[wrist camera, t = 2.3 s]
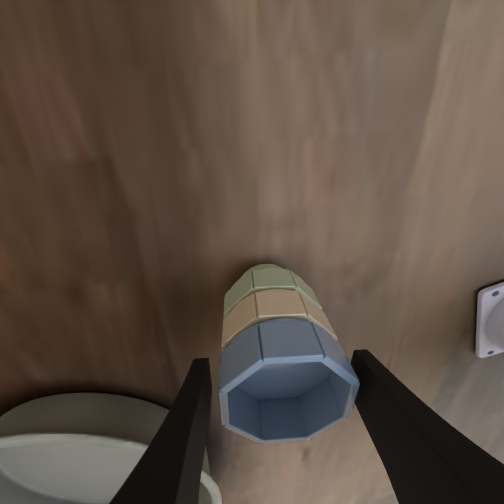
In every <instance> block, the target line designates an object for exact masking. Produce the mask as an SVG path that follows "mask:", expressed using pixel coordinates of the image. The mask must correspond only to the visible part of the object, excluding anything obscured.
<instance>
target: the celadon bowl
mask: <svg viewBox="0 0 504 504" xmlns="http://www.w3.org/2000/svg"><path fill="white" fill-rule="evenodd" d="M269 289H286V290H292V291H297V292H301V293H302V294H303V295H305V296H306V297H308V298H309V299H311V300H312V301H313V302H314V303H315V304H316V306H317V307H318V308H319V309H320V310H321V311H323V310H322V307H321V305H320V303H319V301H318V299H317V297H316V296H315V294H314V292H313V290H312V289H311V288H310V287H309V286H308V285H307V284H306V283H305V282H304V281H303V280H302V279H301V278H300V277H299V276H298V275H296V274H295V273H294V272H292V271H291V270H290V271H289V270H288V269H283V268H281V267H279V266H277V265H274V264H260V265H256V266H254V267H252V268H250V269H248V270H247V271H246V272H245V273H244V274H243V275H242V276H241V278H240V279H239V280H238V281H237V282H236V283H235V284H234V285H233V286H232V288H231V289H230V290H229V291H228V292H227V293H226V295H225V299H224V314H223V315H224V318H225V317H226V316H227V315H228V314H229V313H230V312H231V310H232V309H233V308H234V307H235V306H236V305H237V304H238V303H239V302H240V301H241V300H243V299H244V298H246V297H248V296H250V295H251V294H252V293H253V294H254V293H255V292H260V291H264V290H269Z"/></svg>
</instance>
